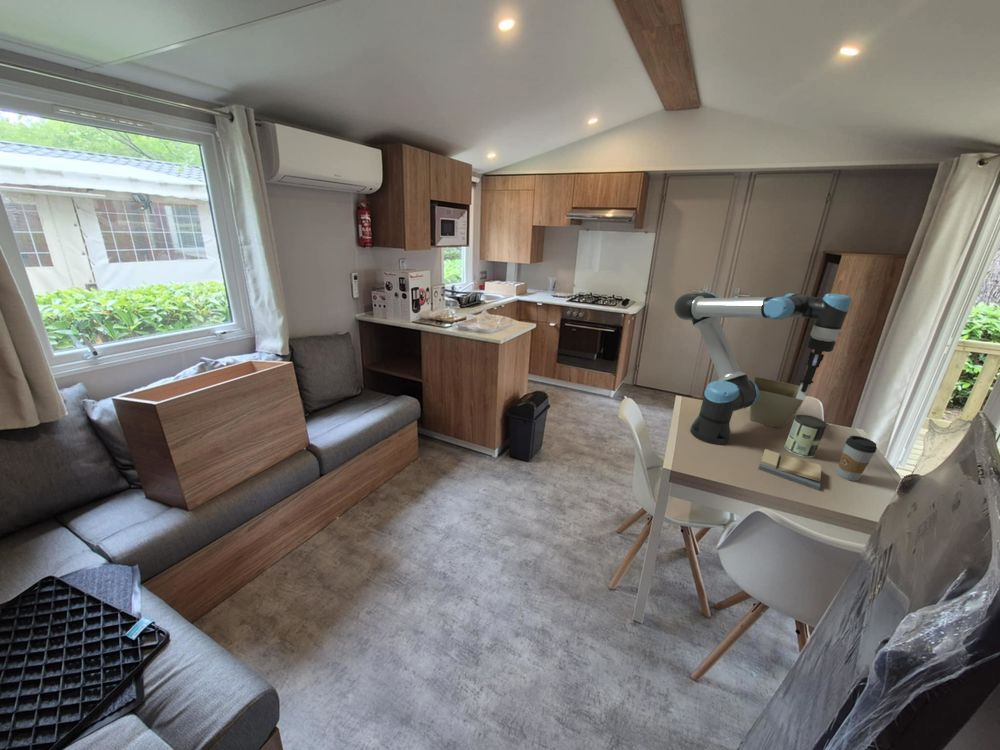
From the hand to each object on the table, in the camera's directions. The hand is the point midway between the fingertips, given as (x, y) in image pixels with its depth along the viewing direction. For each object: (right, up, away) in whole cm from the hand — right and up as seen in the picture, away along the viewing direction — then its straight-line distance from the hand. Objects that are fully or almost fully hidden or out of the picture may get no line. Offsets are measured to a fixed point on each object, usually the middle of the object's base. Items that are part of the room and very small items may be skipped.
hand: (800, 398), depth 146 cm
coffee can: (+9, -22, +12) cm, 27 cm away
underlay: (-6, -27, -2) cm, 27 cm away
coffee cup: (+15, -29, -3) cm, 32 cm away
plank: (-3, -26, -4) cm, 26 cm away
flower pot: (+12, -13, +37) cm, 41 cm away
